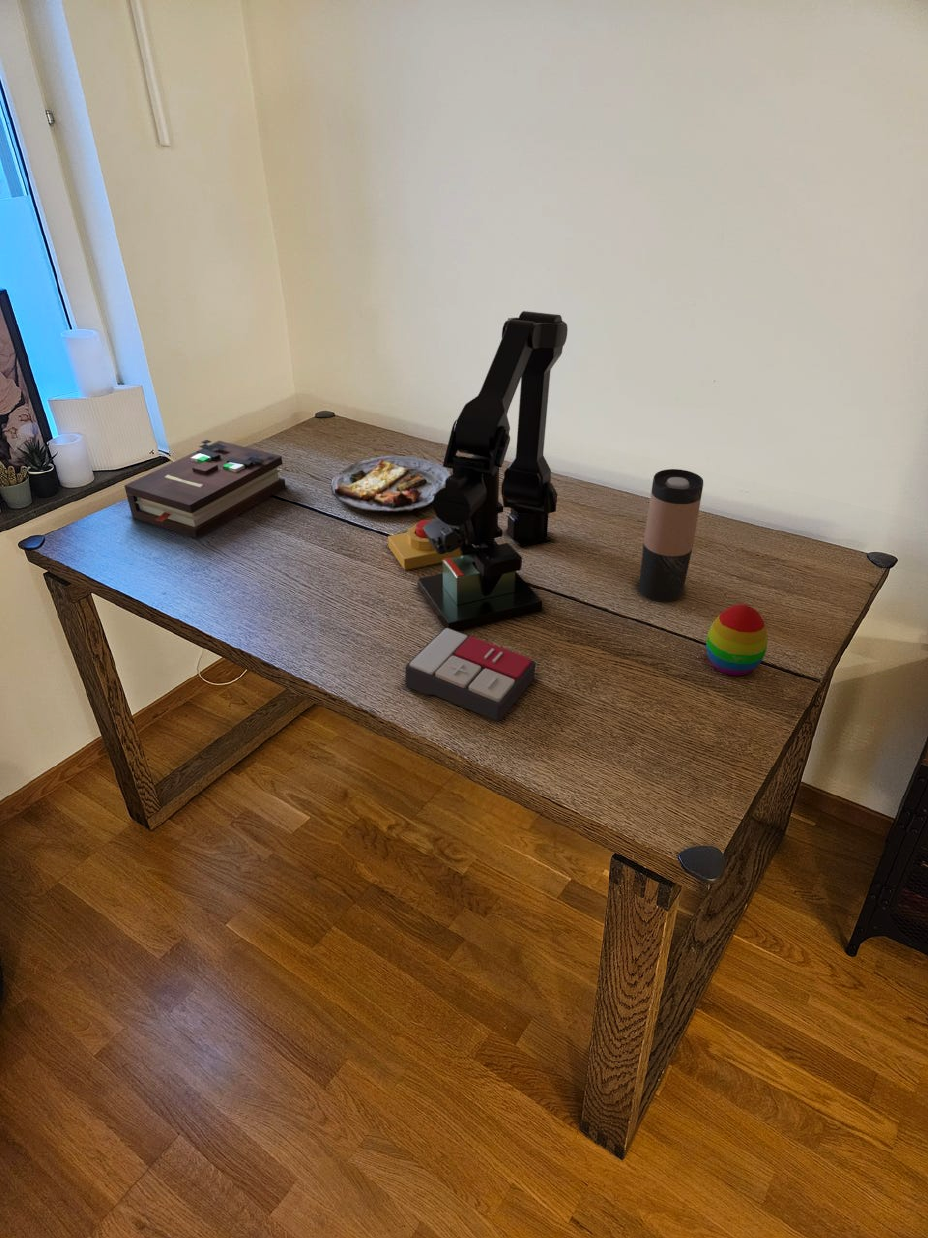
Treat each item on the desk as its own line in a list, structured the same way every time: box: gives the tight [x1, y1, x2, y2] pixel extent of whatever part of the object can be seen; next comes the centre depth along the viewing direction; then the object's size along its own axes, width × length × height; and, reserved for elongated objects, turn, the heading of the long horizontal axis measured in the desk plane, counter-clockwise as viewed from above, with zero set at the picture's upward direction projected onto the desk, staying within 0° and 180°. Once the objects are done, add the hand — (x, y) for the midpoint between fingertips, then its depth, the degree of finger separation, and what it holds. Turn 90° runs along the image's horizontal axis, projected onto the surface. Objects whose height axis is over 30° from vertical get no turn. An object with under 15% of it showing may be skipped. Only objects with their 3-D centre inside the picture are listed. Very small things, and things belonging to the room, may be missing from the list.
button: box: [415, 519, 433, 538], centre depth 142 cm, size 4×4×2 cm
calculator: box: [404, 627, 537, 722], centre depth 113 cm, size 11×4×15 cm
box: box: [442, 553, 515, 605], centre depth 129 cm, size 10×6×5 cm, turn 113°
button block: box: [387, 524, 462, 571], centre depth 144 cm, size 12×9×4 cm
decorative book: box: [123, 439, 287, 539], centre depth 159 cm, size 19×8×30 cm
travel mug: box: [638, 468, 704, 603], centre depth 128 cm, size 8×8×20 cm
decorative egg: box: [705, 603, 769, 677], centre depth 114 cm, size 8×8×10 cm
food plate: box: [330, 455, 453, 514], centre depth 164 cm, size 25×23×4 cm
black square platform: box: [416, 571, 543, 632], centre depth 131 cm, size 16×14×2 cm
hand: (478, 585), depth 130 cm, fingers closed on box, 6 cm apart
